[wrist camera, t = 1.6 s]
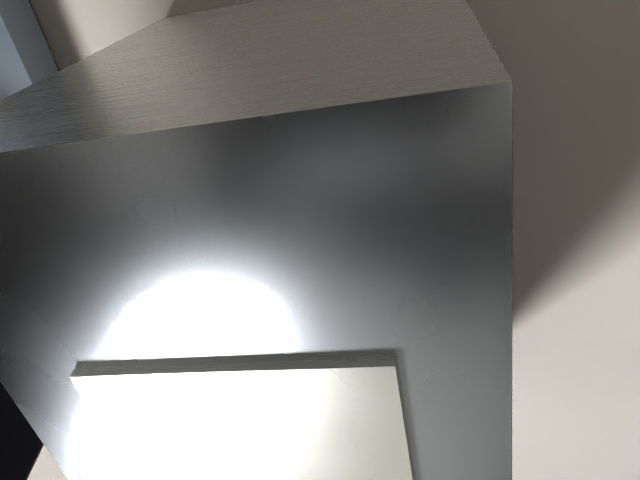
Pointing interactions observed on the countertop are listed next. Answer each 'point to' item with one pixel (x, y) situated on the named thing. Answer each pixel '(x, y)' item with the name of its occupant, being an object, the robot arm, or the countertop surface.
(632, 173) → the countertop surface
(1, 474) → the robot arm
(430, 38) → the block
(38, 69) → the tray
